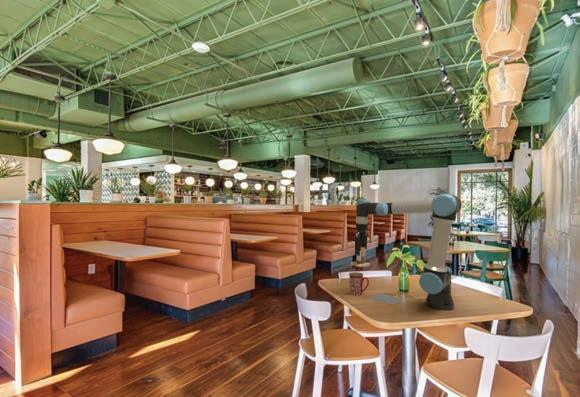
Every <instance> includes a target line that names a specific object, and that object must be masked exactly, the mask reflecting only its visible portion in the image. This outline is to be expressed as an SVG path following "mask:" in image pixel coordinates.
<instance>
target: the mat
mask: <svg viewBox="0 0 580 397" xmlns="http://www.w3.org/2000/svg"><path fill="white" fill-rule="evenodd" d="M403 299H404V298H403V297H400V296H394V295H391V294H390V295H389V294H386V293H385V294H384V293H379V292H378V293H376V294H375V295H372V296H371V297H369V298H368V300H372V301H375V302H381V303H385V304H389V305H396V304H397V303H399V302H400V301H402V300H403Z"/></svg>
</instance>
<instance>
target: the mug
mask: <svg viewBox="0 0 580 397" xmlns="http://www.w3.org/2000/svg"><path fill="white" fill-rule="evenodd" d="M348 276H349V277H348V278H349V295H352V296H356V297H357V296H358V297H360V296H362V295H363V292H364V291H365V290H366V289H367V288H368V286H369V284H370V280H369V278H368V277H366V276H364V273H362V272H355V271H353V272H349V273H348ZM363 276H364V277H363ZM365 279H366V281H367V284H366V286H365V287H364V288H363V282H364V281H365Z"/></svg>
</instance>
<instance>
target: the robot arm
mask: <svg viewBox="0 0 580 397" xmlns="http://www.w3.org/2000/svg"><path fill="white" fill-rule="evenodd" d="M462 206H463V204H462V200H461V199H460V198H459V197H458V196H457V195H455V194H451V193H450V194H449V193H441V194H438V195H437V196H435V197H434V198H433V199H422V200H409V201H408V200H407V201H406V200H405V201H396V202H395V201H394V202H370V201H369V199H367V198H366V199H365V198H358V199H356V205H355V207H356V208H355V209H356V210H355V212H356V213H355V229H356V230H357V233H354V250H355V251H356V260H355V261H361V247H364V248H365V250H367V249H368V235H369V233H368V232H366V231H367V230H369V229H368V228H369V224H368V223H369V215H371V216H386V215H387V216H389V215H400V214H401V215H402V214H405V215H406V214H407V215H408V214H422V213H423V214H426V213H427V214H428V213H429V214H430V213H432V214H431V218H432V220H433V228H432V233H431V238H430V246H429V250H428V251H429V252H428V258H427V262H426V264H424V265H423V269H422V274H421V275H420V276H419V277H418V278H419V279H418V283H419V286H420V288H421V290H422V291H424V292H425V293H427V295H426V298H425V301H424V303H425V305H426V306H427V307H430V308H432V309H436V310H442V311H443V310H444V311H450V310H453V309H455V303H454V299H453V296H452V268H451V267H449V266H445V265H446V261H447V260H446V259H447V255H448V254H447V253H448V248H449V244H450V243H449V242H450V235H451V230H452V224H453V223H455V222H456V220H457V214H458V213H459V212H461V209H462V208H463V207H462Z"/></svg>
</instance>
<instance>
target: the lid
mask: <svg viewBox="0 0 580 397" xmlns="http://www.w3.org/2000/svg"><path fill="white" fill-rule="evenodd" d="M350 266H353V267H358V268H368V267H371V263H370V262H366V249H365V248H364V247H361V261H357V260H355V261H351V262H350Z"/></svg>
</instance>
